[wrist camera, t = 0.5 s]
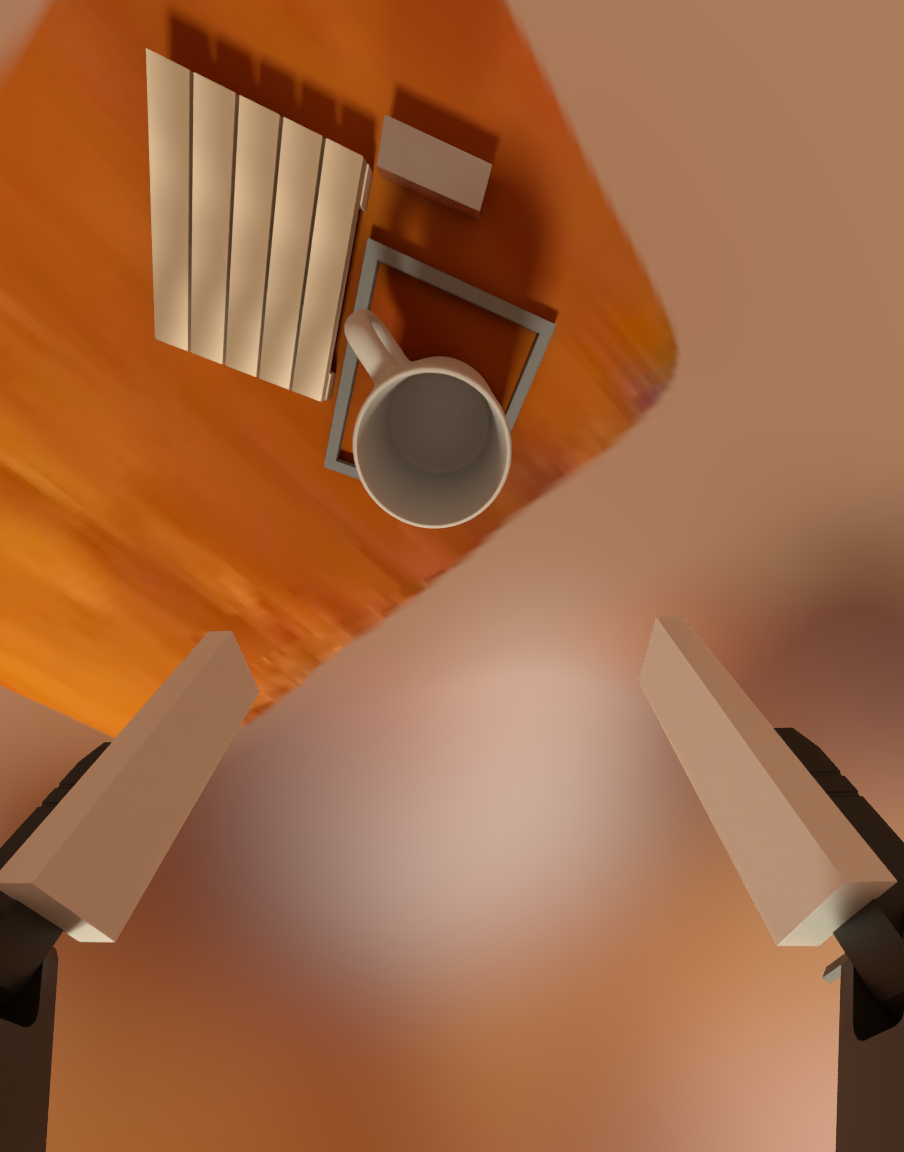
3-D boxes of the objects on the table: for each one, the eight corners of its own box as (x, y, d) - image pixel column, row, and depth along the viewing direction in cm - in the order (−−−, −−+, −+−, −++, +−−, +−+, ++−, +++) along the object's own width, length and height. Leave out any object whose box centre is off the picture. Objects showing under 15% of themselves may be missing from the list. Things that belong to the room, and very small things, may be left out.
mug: (516, 435, 30) (543, 478, 21) (428, 494, 33) (415, 556, 23) (425, 275, 25) (405, 234, 15) (329, 359, 27) (262, 368, 18)
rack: (174, 338, 27) (153, 338, 25) (172, 73, 21) (143, 46, 19) (331, 398, 29) (322, 402, 27) (372, 172, 22) (365, 157, 21)
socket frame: (326, 464, 31) (323, 466, 31) (370, 240, 24) (368, 237, 23) (472, 515, 33) (473, 519, 33) (553, 325, 26) (556, 324, 25)
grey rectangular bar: (382, 179, 23) (376, 165, 21) (390, 132, 22) (384, 114, 20) (477, 221, 24) (479, 211, 22) (489, 177, 23) (492, 164, 21)
